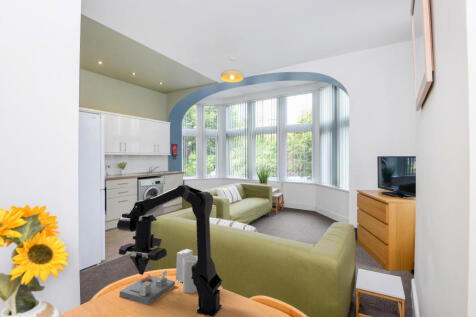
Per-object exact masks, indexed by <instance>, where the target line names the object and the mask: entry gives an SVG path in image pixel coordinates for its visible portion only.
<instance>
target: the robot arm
mask: <svg viewBox="0 0 476 317" xmlns="http://www.w3.org/2000/svg"><path fill="white" fill-rule="evenodd" d="M180 198H182V199H183V200H184V201H185V202H187V203H188V204H190V205H191V209H192V210H191V211H192V213H193V215H194V217H195V221H196V223H195V225H196V227H195V228H196V256H197V263H196V264H194V265H193V266H192V268H191V270H192V278H191V279H193V283H194V285H195V286H196V289H197V291H196V292H197V295H198V298H197V299H198V302H197V303H198V305H197V307H198V308H197V309H196V313H197V314H201V315H205V316H208V317H216V315H217V313H218V312H219V311H220V310H221V308H222V306H223V305H222V304H221V302H220V301H221V300H220V299H221V290H220V289H219V288H220V287H221V286H222V283H223V280H222V278H221V277H220V276H219V274H218V273H217V271H216V264H215V262H214V261H213V260H214V259H213V258H212V253H211V252H212V248H211V224H210V221H211V220H210V218H211V213H212V210H213V203H214V196H213V195H212V194H211V193H210V192H209V191H202V190H200V189H198V188H195V187H192V186H190V185H187V184H180V185H178V186H177V187H175V188H172V189H170V190H168V191H165V192H162V193H161V194H159V195H156V196H154V197H151V198H146V199H141V200H140V199H139V200H137V201H135V202H134V204H133V207H132V209H131V210H130V212H128V213H127V212H126V213H121V217H120V218H119V219H118V222H117V223H116V227H117V230H118V231H120V232H129V233H131V232H132V233H133V232H135V233H134V235H133V236H132V240H134V243H133V242H132V243H131V242H129V243H126V244H124V245H121V246H120V247H119V249H118V255H122V256H126V254H127V253H131V255H130V256H129V259H130V260H131V261H132V263H133V264H134V266H135V268H136V270H137V272H138V274H139V275H141V276H143V275H145V271H146V269H147V266H148V263H149V262H150V261H153V262H154V261H156V262H157V261H159V260H161V259H163V258H165V257H167V253H168V252H167V248H164V247H161V243H162V240H163V239H162V238H157V237H155V235H154V233H152V227H153V226H152V225H153V224H152V222H156V221H157V220H158V219H157V218H156V217H155V216H154V215H153V213H154V212H156V211H157V210H158V209H159V208H160V207H162V206H164V205H167V204H168V203H171V202H173V201H175V200H178V199H180ZM147 215H148V216H147Z"/></svg>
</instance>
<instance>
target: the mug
mask: <svg viewBox="0 0 476 317" xmlns="http://www.w3.org/2000/svg"><path fill="white" fill-rule="evenodd" d="M196 263H197V255H193V256H187V257H184V258H183V283H182V291H183V293H186V294H194V293H196V292H197V289H196V286H195V285H194V283H193V279H191V278H192V270H191V268H192V266H193V265H194V264H196ZM193 292H194V293H193Z"/></svg>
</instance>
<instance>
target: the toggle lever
mask: <svg viewBox="0 0 476 317" xmlns="http://www.w3.org/2000/svg"><path fill="white" fill-rule="evenodd" d="M167 274H168V271H167V270H166V269H164V270H162V274H161V277H160V278H161V279H160V280H159V281H161V284H163V283H164V278H165V277H166V275H167Z"/></svg>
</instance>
